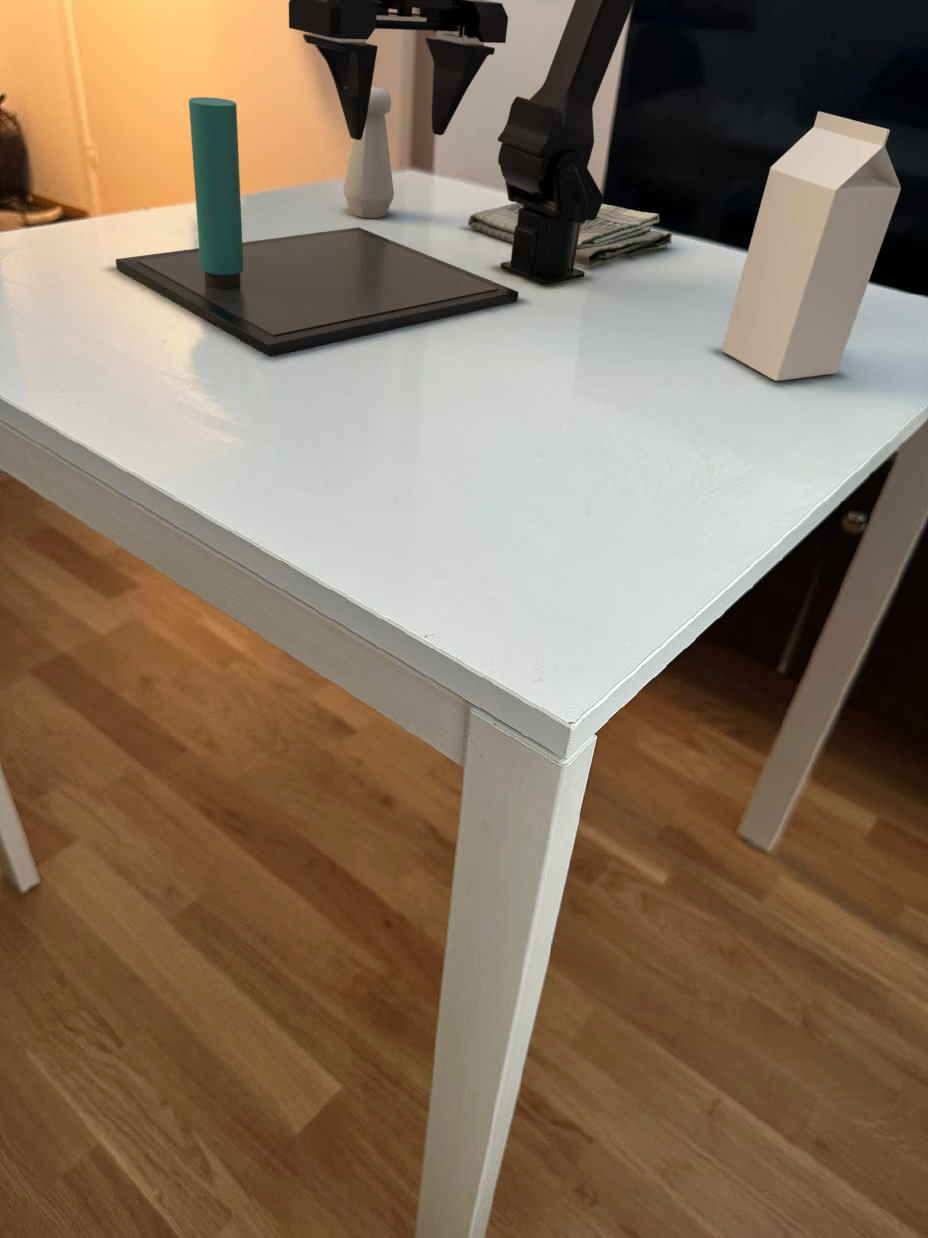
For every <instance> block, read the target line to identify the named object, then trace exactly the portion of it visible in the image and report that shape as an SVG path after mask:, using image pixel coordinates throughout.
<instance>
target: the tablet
mask: <svg viewBox="0 0 928 1238" xmlns="http://www.w3.org/2000/svg"><path fill="white" fill-rule="evenodd" d="M242 246H243V271H242V272H241V273H240V281H241V283H240V285H239V286H237V287H233V288H216V287H211V286H209V285H207V284H206V283H205V273H204V271H202V270H201V267H200V253H199V247H198V248H197V247H196V248H191V249H189V248H188V249H183V250H175V251H167V252H160V253H152V254H144V255H137V256H130V257H121V258H116V259H115V267H116V270H117V271H119V272H121V273H123V274H125V275H126V276H128V277H130V278H132V279H134V280H135V281H137V282H138V283H140V284H142V285H144V286H146V287H148V288H149V289H151V290H152V291H154V292H156V293H158V294H159V295H161V296H163V297H165V298H167V299H169V300H170V301H172V302H174V303H175V304H177V305H179V306H181V307H182V308H184V309H186V310H188V311H190V312H191V313H193V314H195V315H196V316H199V317H200V318H201V319H203V320H205V321H207V322H209V323H211V324H212V325H214V326H216V327H218V328H219V329H221V330H222V331H224V332H226V333H228V334H230V335H232V336H233V337H235V338H237V339H238V340H240V341H242V342H244V343H245V344H248V345H249V346H251V347H252V348H253V349H254V348H255V349H256V350H257V351H260V352H262V354H265V355H267V356H269V357H272V356H276V355H281V354H285V353H289V352H295V351H299V350H304V349H308V348H312V347H317V346H321V345H322V346H323V345H325V344H330V343H336V342H339V341H340V342H341V341H344V340H348V339H349V340H350V339H353V338H357V337H362V336H367V335H371V334H376V333H380V332H384V331H390V330H393V329H398V328H402V327H407V326H411V325H416V324H420V323H425V322H430V321H434V320H438V319H439V320H440V319H443V318H449V317H452V316H456V315H461V314H465V313H466V314H467V313H470V312H474V311H475V312H476V311H479V310H484V309H488V308H493V307H497V306H502V305H507V304H510V303H515V302H518V301H519V293H520V292H519V291H518V290H516V289H513V288H510V287H508V286H505V285H503V284H500V283H498V282H495V281H493V280H490V279H488V278H485V277H483V276H480V275H478V274H475V273H473V272H471V271H468V270H466V269H463V268H461V267H458V266H456V265H453V264H451V263H448V262H446V261H444V260H441V259H438V258H436V257H434V256H431V255H428V254H426V253H423V252H421V251H419V250H416V249H413V248H411V247H408V246H406V245H403V244H401V243H399V242H397V241H394V240H391V239H388V238H386V237H384V236H381V235H379V234H376V233H375V232H372V231H369V230H366V229H364V228H361V227H359V226H357V227H350V228H349V227H348V228H343V229H335V230H328V231H320V232H312V233H303V234H297V235H290V236H289V235H288V236H281V237H274V238H267V239H259V240H251V241H242Z"/></svg>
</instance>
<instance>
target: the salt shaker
mask: <svg viewBox="0 0 928 1238" xmlns="http://www.w3.org/2000/svg"><path fill="white" fill-rule="evenodd" d="M391 107H392V98H391V94H390V92H388V90H386V89H384V88H382V87H378V86H372V87H371V93H370V100H369V106H368V113H367V119H366V124H365V128H364V132H363V136H362V139H361V140H356V139H353V138H352V141H351V147H350V151H349V157H348V161H347V162H348V163H347V166H346V167H347V168H346V172H345V178H344V183H343V187H342V190H343V191H342V192H343V195H344V198H345V201H346V203H347V207H348V210H349V213H350V215H352V216H356V217H359V218H362V219H363V218H364V219H380V218H383V217H385V216H386V215H387V213H388V212H389V209H390V206H391V204H392V201H393V200H394V196H395V191H394V181H393V174H392V163H391V156H390V148H389V140H388V131H387V121H386V114H388V113H390V112H391Z"/></svg>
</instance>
